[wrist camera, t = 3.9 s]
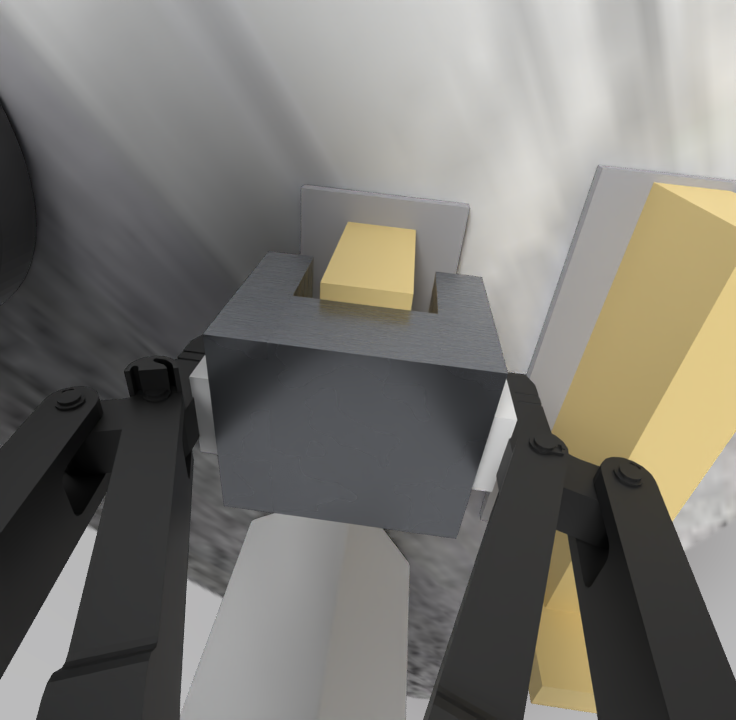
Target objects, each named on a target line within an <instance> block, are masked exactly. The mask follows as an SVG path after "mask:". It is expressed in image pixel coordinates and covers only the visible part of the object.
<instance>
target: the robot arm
mask: <svg viewBox="0 0 736 720" xmlns="http://www.w3.org/2000/svg"><path fill="white" fill-rule="evenodd" d="M35 239H36V212H35V203H34V196H33V191H32V186H31V181H30V178H29V174H28V170H27V167H26V164H25V160H24V157H23V154H22V151H21V149H20V146H19V144H18V141H17V139H16V136H15V134H14V131H13V129H12V127H11V125H10V123H9V121H8V118H7V116H6V114H5V112H4V110H3V109H2V107H1V105H0V305H1V304H2V303H4V302H5V301H6V300H7V299H9V298H10V297H11V296H12V295H13V294H14V292H15V291H16V290H17V289H18V287H19V286H20V285H21V283H22V281H23V280H24V278H25V276H26V274H27V272H28V269H29V267H30V264H31V261H32V257H33V252H34V247H35ZM124 373H125V377H126V381H127V386H128V390H129V394H130V398H125V399H115V400H102V401H100V399H99V396H98V393H97V391H95V390H94V389H92V388H89V387H83V386H80V387H70V388H65V389H62V390H59V391H57V392H55V393H53V394H51V395H50V396H49V397H47V398H46V399H45V400H44V401H43V402H42V403H41V404H40V405H39V406H38V407H37V409H36V410H35V411H34V412H33V413H32V414H31V415H30V416H29V417H28V419H27V420H26V421H25V422H24V423H23V424H22V425H21V426H20V428H19V429H18V430H17V431H16V432H15V433H14V434H13V435H12V437H11V438H10V439H9V440H8V441H7V442H6V443H5V444H4V445H3V447H2V448H1V449H0V679H1V677H2V676H3V674H4V672H5V670H6V668H7V667H8V665H9V663H10V661H11V660H12V658H13V656H14V654H15V653H16V651H17V649H18V647H19V646H20V644H21V642H22V640H23V638H24V637H25V635H26V633H27V631H28V629H29V628H30V626H31V624H32V623H33V621H34V619H35V617H36V616H37V614H38V612H39V610H40V608H41V607H42V605H43V603H44V601H45V600H46V598H47V596H48V594H49V593H50V591H51V589H52V587H53V585H54V584H55V582H56V580H57V578H58V577H59V575H60V573H61V571H62V570H63V568H64V566H65V564H66V563H67V561H68V559H69V557H70V555H71V554H72V552H73V550H74V548H75V547H76V545H77V543H78V541H79V540H80V538H81V536H82V534H83V533H84V531H85V529H86V527H87V525H88V524H89V522H90V520H91V518H92V517H93V515H94V513H95V511H96V510H97V508H98V506H99V504H100V503H101V501H102V499H103V497H104V495H105V494H106V492H107V494H106V499H105V503H104V507H103V511H102V515H101V519H100V523H99V528H98V532H97V536H96V540H95V544H94V549H93V552H92V556H91V561H90V565H89V569H88V573H87V577H86V581H85V586H84V590H83V594H82V598H81V602H80V606H79V610H78V614H77V619H76V623H75V627H74V631H73V635H72V639H71V643H70V648H69V652H68V655H67V658H66V662H65V664H64V665H63V667H62V668H61V669H59V670H58V671H56V672H54V673H53V674H52V676H51V678H50V679H49V681H48V683H47V685H46V688H45V691H44V694H43V696H42V700H41V703H40V707H39V711H38V715H37V718H36V720H180V693H181V676H182V657H183V640H184V623H185V604H186V586H187V569H188V552H189V534H190V516H191V498H192V480H193V463H194V459H193V453H192V448H193V447H194V445H195V443H196V442H197V440H198V438H199V445H200V451H201V452H204V453H212V454H218V453H217V445H216V437H215V429H214V421H213V413H212V405H211V397H210V389H209V381H208V373H207V365H206V356H205V348H204V340H203V335H201V336H199V337H197V338H196V339H194V340H192V341H191V342H190V343H189V344H188V345H187V346H186V348H185V349H184V350H183V352H182V353H181V354H180V355H179V356H178V359H176V360H175V361H174V360H173V359H172V358H168V357H165V356H151V357H144V358H141V359H139V360H136V361H134V362H133V363H131V364H130V365H128V366H127V368H126V369H125V371H124ZM541 404H542V403H541V400H540V398H539V395H538V392H537V389H536V386H535V384H534V383H533V382H532V381H531V380H530V379H529V378H528V377H527V376H526V375H524V374H517V373H509V372H508V375H507V378H506V382H505V385H504V388H503V391H502V394H501V397H500V401H499V404H498V407H497V410H496V413H495V417H494V420H493V423H492V426H491V429H490V433H489V436H488V439H487V442H486V445H485V449H484V452H483V455H482V458H481V461H480V465H479V468H478V471H477V474H476V477H475V480H474V484H473V487H472V489H473V490H480V491H488V492H492V491H493V488H494V485H495V482H496V479H497V483H498V489H499V492H498V495H497V497H496V500H495V503H494V506H493V508H492V511H491V514H490V517H489V521H488V524H487V527H486V530H485V533H484V536H483V539H482V542H481V546H480V549H479V552H478V555H477V558H476V561H475V564H474V567H473V570H472V573H471V576H470V579H469V582H468V585H467V588H466V591H465V594H464V597H463V600H462V603H461V606H460V609H459V612H458V615H457V618H456V621H455V625H454V628H453V631H452V634H451V637H450V640H449V643H448V646H447V649H446V652H445V655H444V658H443V661H442V664H441V667H440V670H439V673H438V676H437V679H436V682H435V685H434V688H433V691H432V694H431V697H430V701H429V704H428V707H427V710H426V713H425V716H424V719H423V720H523V718H524V712H525V706H526V701H527V695H528V689H529V683H530V678H531V672H532V666H533V660H534V654H535V649H536V643H537V637H538V631H539V625H540V620H541V614H542V608H543V602H544V596H545V591H546V585H547V579H548V573H549V568H550V562H551V556H552V550H553V544H554V539H555V533H556V530H558V531H560V532H562V533H565V534H567V536H568V542H569V548H570V554H571V560H572V566H573V572H574V578H575V584H576V590H577V596H578V602H579V609H580V615H581V621H582V627H583V633H584V639H585V645H586V651H587V657H588V663H589V669H590V675H591V681H592V687H593V693H594V699H595V705H596V711H597V717H598V720H736V680H735V677H734V675H733V672H732V670H731V667H730V665H729V662H728V660H727V657H726V655H725V653H724V650H723V648H722V645H721V642H720V640H719V637H718V635H717V632H716V630H715V628H714V625H713V622H712V620H711V618H710V615H709V612H708V610H707V608H706V605H705V602H704V600H703V598H702V595H701V592H700V590H699V587H698V585H697V583H696V580H695V577H694V575H693V572H692V570H691V567H690V565H689V562H688V560H687V557H686V555H685V552H684V550H683V547H682V545H681V542H680V540H679V537H678V535H677V532H676V530H675V527H674V525H673V522H672V520H671V517H670V515H669V512H668V510H667V507H666V505H665V502H664V500H663V497H662V495H661V492H660V490H659V487H658V485H657V482H656V481H655V479H654V477H653V476H652V474H651V473H650V472H649V471H647V470H646V469H645V468H644V467H643V466H641V465H639V464H637V463H636V462H634V461H632V460H629V459H626V458H623V457H610V458H606V459H605V460H604V461H603V462H602V463H601V465H600V466H597V465H595V464H592V463H589V462H586V461H583V460H581V459H578V458H576V457H574V456H572V455H570V454H569V452H568V448H567V446H566V445H565V443H564V442H563V441H562V440H561V439H559V438H558V437H557V436H556V435H554V434H552V433H551V430H550V427H549V424H548V421H547V418H546V415H545V412H544V409H543V406H541Z"/></svg>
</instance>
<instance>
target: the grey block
mask: <svg viewBox="0 0 736 720" xmlns="http://www.w3.org/2000/svg"><path fill="white" fill-rule="evenodd" d="M313 273H314V256H306V255H297V254H289V253H281V252H273V251H268V253H267V254H266V255H265V256H264V258H263V259H262V260H261V261H260V263H259V264H258V265H257V267H256V268H255V269H254V270H253V272H252V273H251V274H250V275H249V277H248V278H247V279H246V280H245V282H244V283H243V284H242V285H241V287H240V288H239V289H238V290H237V292H236V293H235V294H234V295H233V297H232V298H231V299H230V301H229V302H228V303H227V304H226V306H225V307H224V308H223V309H222V311H221V312H220V313H219V314H218V316H217V317H216V318H215V319H214V321H213V322H212V323H211V324H210V326H209V327H208V328H207V330H206V331H205V332H204V333H203V340H204V348H205V356H206V365H207V373H208V381H209V389H210V397H211V405H212V413H213V421H214V429H215V437H216V445H217V453H218V461H219V469H220V478H221V486H222V494H223V502H224V506H228V507H235V508H242V509H249V510H256V511H263V512H270V513H277V514H285V515H292V516H299V517H306V518H313V519H320V520H327V521H334V522H341V523H348V524H355V525H362V526H369V527H377V528H384V529H391V530H398V531H405V532H412V533H419V534H426V535H433V536H440V537H447V538H454V539H456V538H457V535H458V532H459V528H460V525H461V522H462V519H463V516H464V512H465V509H466V506H467V503H468V500H469V496H470V493H471V490H472V487H473V484H474V480H475V477H476V474H477V471H478V468H479V465H480V461H481V458H482V455H483V452H484V449H485V445H486V442H487V439H488V436H489V433H490V429H491V426H492V423H493V420H494V417H495V413H496V410H497V407H498V404H499V401H500V397H501V394H502V391H503V388H504V385H505V382H506V378H507V375H508V372H507V368H506V365H505V361H504V357H503V353H502V350H501V346H500V342H499V339H498V335H497V331H496V327H495V324H494V320H493V316H492V313H491V309H490V305H489V301H488V298H487V294H486V290H485V287H484V283H483V279H482V277H477V276H469V275H461V274H453V273H444V272H436V273H435V278H434V284H433V289H432V295H431V300H430V306H429V311H428V313H426V312H418V311H410V310H402V309H394V308H386V307H378V306H370V305H362V304H354V303H346V302H338V301H330V300H322V299H314V298H313Z"/></svg>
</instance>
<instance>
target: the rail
mask: <svg viewBox="0 0 736 720" xmlns="http://www.w3.org/2000/svg"><path fill="white" fill-rule="evenodd" d="M526 376H527V377H528V378H529V379H530V380H531V381H532V382H533V383H534V384H535V386H536V389H537V392H538V395H539V398H540V400H541V403H542V404H541V406H543V409H544V412H545V415H546V418H547V421H548V424H549V427H550V430H551V433H552V434H554V435H556V436H557V437H558V438H559V439H561V440H562V441H563V442H564V443H565V445H566V446H567V448H568V452H569V454H570V455H572V456H574V457H576V458H578V459H581V460H583V461H586V462H589V463H592V464H595V465H597V466H600V465H601V463H602V462H603V461H604V460H605V459H606V458H610V457H623V458H626V459H629V460H632V461H634V462H636V463H637V464H639V465H641V466H643V467H644V468H645V469H646V470H647V471H649V472H650V473H651V474H652V476H653V477H654V479H655V481H656V482H657V485H658V487H659V490H660V492H661V495H662V497H663V500H664V502H665V505H666V507H667V510H668V512H669V515H670V517H671V520H672V521H673V520H674V518H675V517H676V516H677V514H678V513H679V511H680V510H681V508H682V507H683V506H684V504H685V503H686V501H687V500H688V498H689V497H690V496H691V494H692V493H693V491H694V490H695V489H696V487H697V486H698V484H699V483H700V481H701V480H702V479H703V477H704V476H705V474H706V473H707V471H708V470H709V469H710V467H711V466H712V464H713V463H714V462H715V460H716V459H717V457H718V456H719V454H720V453H721V452H722V450H723V449H724V447H725V446H726V444H727V443H728V442H729V440H730V439H731V437H732V436H733V435H734V433H735V432H736V181H733V180H725V179H716V178H707V177H698V176H689V175H681V174H672V173H663V172H654V171H645V170H637V169H628V168H619V167H610V166H601V165H598V167H597V170H596V173H595V176H594V179H593V182H592V185H591V188H590V191H589V193H588V196H587V199H586V202H585V205H584V208H583V211H582V214H581V217H580V220H579V223H578V226H577V229H576V232H575V235H574V237H573V240H572V243H571V246H570V249H569V252H568V255H567V258H566V261H565V264H564V267H563V270H562V273H561V276H560V279H559V281H558V284H557V287H556V290H555V293H554V296H553V299H552V302H551V305H550V308H549V311H548V314H547V317H546V320H545V323H544V325H543V328H542V331H541V334H540V337H539V340H538V343H537V346H536V349H535V352H534V355H533V358H532V361H531V364H530V367H529V369H528V372H527V375H526ZM498 492H499V489H498V483H497V479H496V482H495V485H494V488H493V491H492V492H488V491H487V493H486V496H485V498H484V501H483V504H482V507H481V510H480V519H481V520H482V521H489V517H490V514H491V511H492V508H493V506H494V503H495V500H496V497H497V495H498ZM529 694H530V700H531V703H532V704H538V705H545V706H551V707H558V708H565V709H571V710H578V711H584V712H591V713H597V711H596V705H595V699H594V693H593V687H592V681H591V675H590V669H589V663H588V657H587V651H586V645H585V639H584V633H583V627H582V621H581V615H580V609H579V602H578V596H577V590H576V584H575V578H574V572H573V566H572V560H571V554H570V548H569V542H568V536H567V534H565V533H562V532H560V531H558V530H556V533H555V539H554V544H553V550H552V556H551V562H550V568H549V573H548V579H547V585H546V591H545V596H544V602H543V608H542V614H541V620H540V625H539V631H538V637H537V643H536V649H535V654H534V660H533V666H532V672H531V678H530V683H529Z"/></svg>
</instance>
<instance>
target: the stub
mask: <svg viewBox="0 0 736 720" xmlns="http://www.w3.org/2000/svg"><path fill="white" fill-rule="evenodd" d="M469 209H470V207H469V204H464V203H456V202H447V201H439V200H430V199H422V198H413V197H405V196H396V195H388V194H379V193H371V192H362V191H354V190H345V189H337V188H328V187H320V186H311V185H303V186H302V187H301V240H300V255H306V256H314V273H313V298H314V299H322V300H330V301H338V302H346V303H354V304H362V305H370V306H378V307H386V308H394V309H402V310H410V311H418V312H426V313H428V311H429V306H430V300H431V295H432V289H433V284H434V278H435V273H436V272H444V273H453V274H456V271H457V267H458V262H459V257H460V252H461V247H462V243H463V238H464V233H465V228H466V223H467V218H468V214H469Z"/></svg>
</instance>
